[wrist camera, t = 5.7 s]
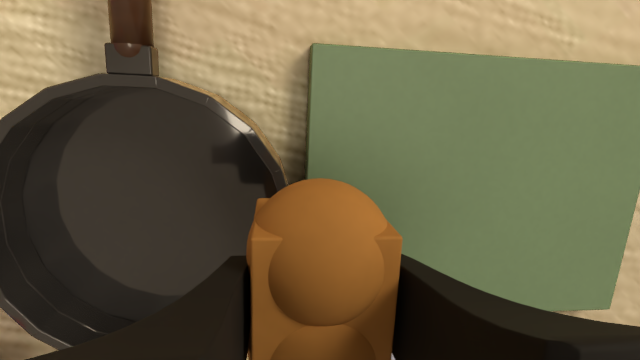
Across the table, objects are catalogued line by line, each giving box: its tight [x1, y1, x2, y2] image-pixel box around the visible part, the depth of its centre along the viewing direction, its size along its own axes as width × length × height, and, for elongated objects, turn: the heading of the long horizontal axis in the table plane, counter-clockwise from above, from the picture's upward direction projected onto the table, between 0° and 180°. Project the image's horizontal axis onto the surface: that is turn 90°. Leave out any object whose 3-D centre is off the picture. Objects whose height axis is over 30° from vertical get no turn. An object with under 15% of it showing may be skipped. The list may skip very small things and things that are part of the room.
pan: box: [0, 73, 289, 350], centre depth 18 cm, size 14×14×3 cm
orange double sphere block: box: [246, 178, 403, 360], centre depth 11 cm, size 7×4×4 cm, turn 178°
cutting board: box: [305, 43, 640, 311], centre depth 21 cm, size 15×20×1 cm
